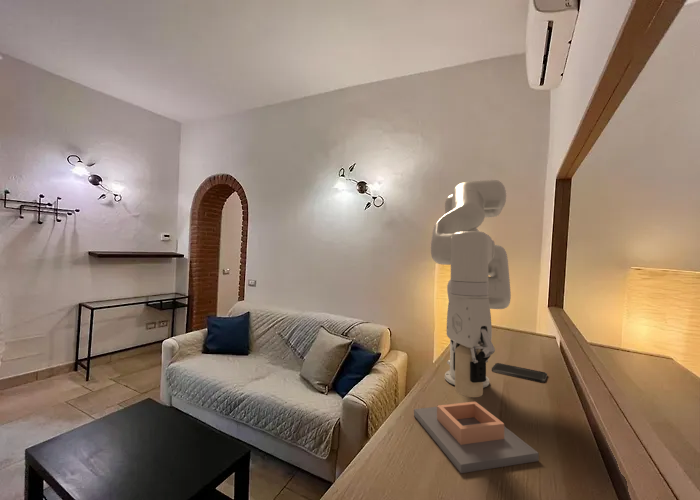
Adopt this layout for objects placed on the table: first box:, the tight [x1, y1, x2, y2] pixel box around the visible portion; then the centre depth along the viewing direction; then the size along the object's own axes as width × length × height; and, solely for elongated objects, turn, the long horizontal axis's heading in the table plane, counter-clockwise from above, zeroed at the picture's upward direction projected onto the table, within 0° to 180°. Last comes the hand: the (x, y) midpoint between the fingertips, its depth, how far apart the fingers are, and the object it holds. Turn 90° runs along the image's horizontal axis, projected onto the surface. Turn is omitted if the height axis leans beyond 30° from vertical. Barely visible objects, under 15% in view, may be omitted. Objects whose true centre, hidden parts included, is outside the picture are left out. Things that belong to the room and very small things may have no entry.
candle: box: [454, 344, 484, 398], centre depth 67 cm, size 6×6×10 cm
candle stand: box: [413, 401, 540, 474], centre depth 67 cm, size 20×16×4 cm
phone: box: [491, 362, 548, 383], centre depth 102 cm, size 8×1×15 cm
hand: (468, 375), depth 66 cm, fingers closed on candle, 5 cm apart
